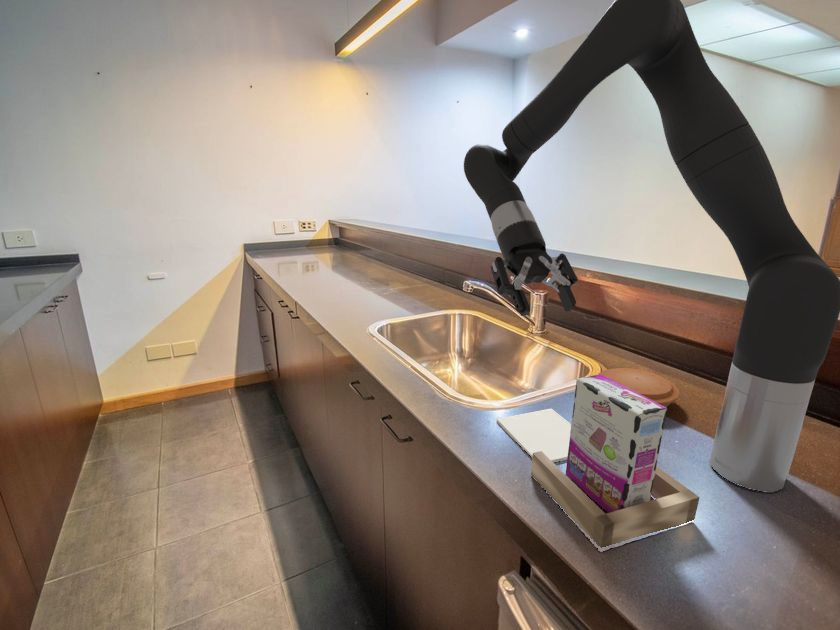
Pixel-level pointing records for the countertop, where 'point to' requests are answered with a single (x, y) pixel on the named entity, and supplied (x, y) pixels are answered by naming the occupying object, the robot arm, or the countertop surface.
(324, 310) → the countertop surface
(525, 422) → the mat
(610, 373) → the pie
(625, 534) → the frame
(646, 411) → the candy bar box
